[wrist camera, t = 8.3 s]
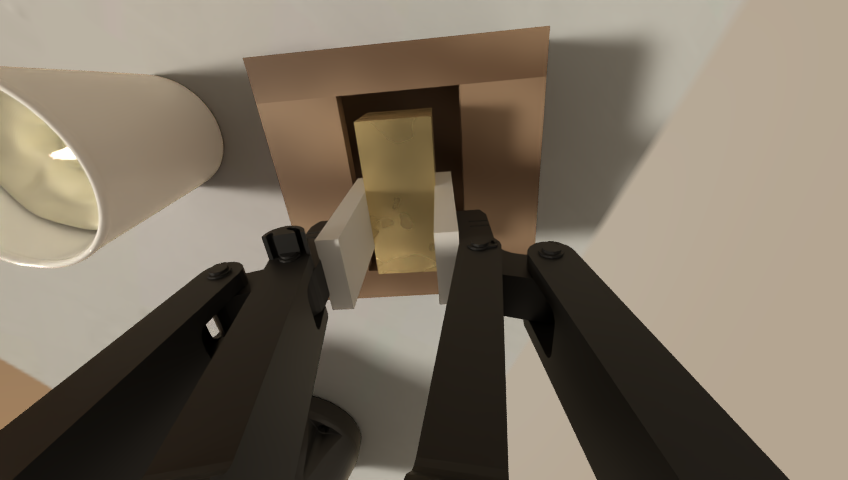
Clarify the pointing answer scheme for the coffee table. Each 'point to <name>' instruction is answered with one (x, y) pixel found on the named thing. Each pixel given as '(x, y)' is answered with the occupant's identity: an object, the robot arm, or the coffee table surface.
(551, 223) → the coffee table surface
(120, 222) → the candle holder
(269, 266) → the robot arm
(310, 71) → the box
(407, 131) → the yellow rectangular block
